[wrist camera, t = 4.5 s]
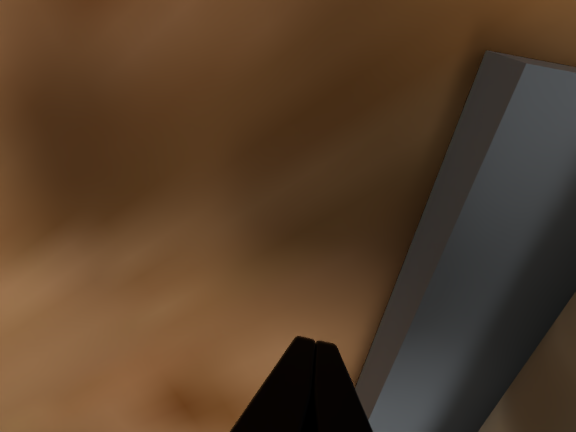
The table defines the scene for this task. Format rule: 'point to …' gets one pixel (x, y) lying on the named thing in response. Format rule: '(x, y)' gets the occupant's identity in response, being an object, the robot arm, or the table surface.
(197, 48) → the table surface
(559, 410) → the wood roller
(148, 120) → the table surface
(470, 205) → the slate board
